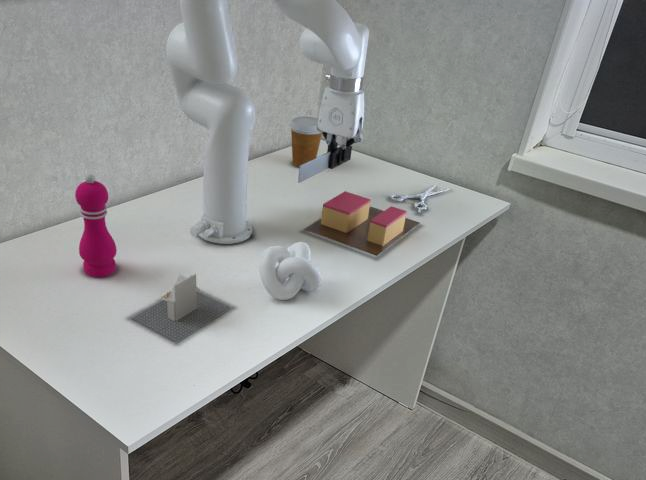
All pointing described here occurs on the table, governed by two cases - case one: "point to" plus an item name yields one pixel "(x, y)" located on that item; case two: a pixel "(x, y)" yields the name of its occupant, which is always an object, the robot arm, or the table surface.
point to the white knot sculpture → (288, 271)
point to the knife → (321, 164)
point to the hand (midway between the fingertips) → (336, 160)
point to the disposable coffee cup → (304, 139)
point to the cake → (345, 211)
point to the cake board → (360, 233)
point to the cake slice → (386, 225)
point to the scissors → (421, 196)
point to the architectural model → (181, 311)
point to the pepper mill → (95, 229)
